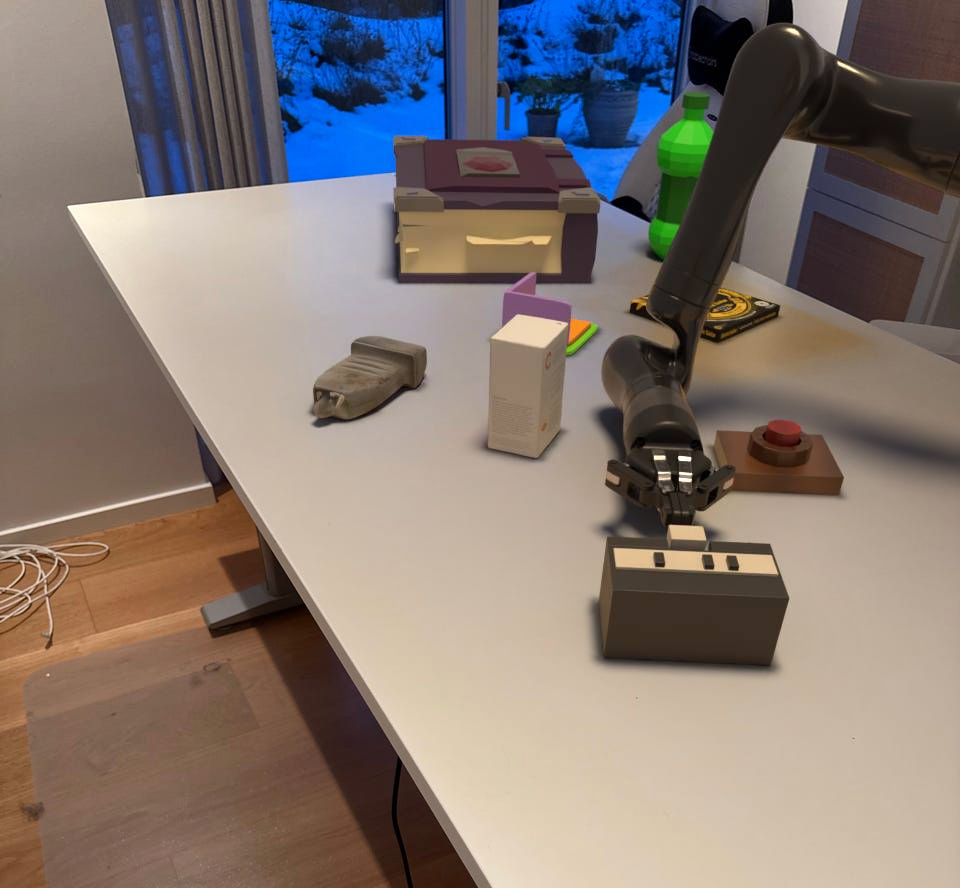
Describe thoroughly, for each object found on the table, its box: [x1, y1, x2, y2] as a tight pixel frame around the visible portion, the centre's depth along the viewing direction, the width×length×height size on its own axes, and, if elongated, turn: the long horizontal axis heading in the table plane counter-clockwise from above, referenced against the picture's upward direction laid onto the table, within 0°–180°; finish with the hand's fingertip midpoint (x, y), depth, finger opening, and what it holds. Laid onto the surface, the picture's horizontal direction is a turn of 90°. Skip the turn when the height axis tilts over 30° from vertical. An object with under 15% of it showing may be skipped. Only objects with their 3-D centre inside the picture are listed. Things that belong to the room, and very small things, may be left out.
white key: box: [666, 525, 707, 550], centre depth 83 cm, size 3×2×2 cm
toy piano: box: [598, 535, 790, 666], centre depth 81 cm, size 14×8×8 cm, turn 87°
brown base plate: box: [713, 424, 845, 496], centre depth 105 cm, size 12×10×4 cm
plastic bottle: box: [648, 91, 714, 261], centre depth 159 cm, size 10×10×25 cm
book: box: [392, 135, 601, 284], centre depth 166 cm, size 33×45×14 cm
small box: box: [487, 314, 568, 459], centre depth 107 cm, size 8×6×13 cm
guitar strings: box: [629, 286, 781, 344], centre depth 144 cm, size 16×2×16 cm
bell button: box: [764, 419, 802, 447], centre depth 104 cm, size 4×4×2 cm
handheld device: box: [312, 335, 428, 420], centre depth 118 cm, size 10×20×5 cm, turn 154°
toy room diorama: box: [501, 272, 599, 356], centre depth 135 cm, size 12×12×7 cm
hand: (680, 523), depth 86 cm, fingers closed
